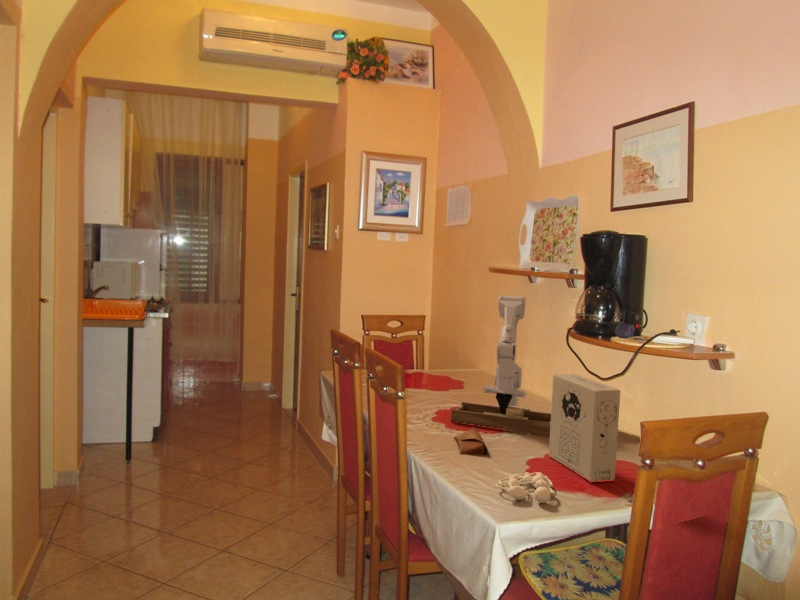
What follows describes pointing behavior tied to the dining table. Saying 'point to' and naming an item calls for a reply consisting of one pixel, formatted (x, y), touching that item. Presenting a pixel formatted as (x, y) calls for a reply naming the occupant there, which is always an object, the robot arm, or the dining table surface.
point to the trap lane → (502, 419)
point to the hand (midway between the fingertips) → (503, 415)
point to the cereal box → (584, 426)
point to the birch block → (515, 411)
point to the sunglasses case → (471, 443)
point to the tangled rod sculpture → (537, 482)
